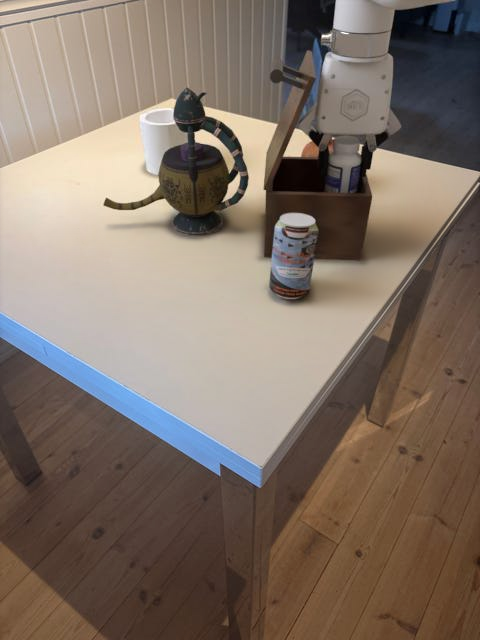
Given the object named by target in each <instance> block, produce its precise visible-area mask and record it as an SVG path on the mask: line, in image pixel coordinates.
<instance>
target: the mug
mask: <svg viewBox="0 0 480 640" xmlns="http://www.w3.org/2000/svg"><path fill="white" fill-rule="evenodd" d="M173 112H174V108H170V107H165V108H156V109H155V108H154V109H151V110H147V111H144V112H143V113H141V114H140V115H139V118H138V120H139V126H140V127H139V128H140V134H141V142H142V148H143V154H144V162H145V168H146V170H147V172H149V173H150V174H152V175H155V176H159V175H158V174H159V168H160V165H161V161H162V158H163V155H164V153H165V152H166V151H167V150H168V149H170V148H172V147H175V146H178V145H182V144H184V143H188V136H187V134H188V133H185V132H182V131H180V130H179V128H178V126H177V125H176V123H175V121H174V120H173Z"/></svg>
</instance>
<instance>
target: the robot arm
mask: <svg viewBox="0 0 480 640" xmlns="http://www.w3.org/2000/svg"><path fill="white" fill-rule="evenodd" d="M456 1H457V0H335V5H334V15H333V25H332V30H330V31H329V32H327V33H321V37H320V46H326V47H328V48H329V50H330V51H328V52H327V53H326V54H325V56H324V60H323V63H322V68H321V71H320V72H321V73H320V78H319V83H318V89H317V96H316V101H315V103H314V104H313V106H311V107H310V108H309V110H308V111H307V112H306V113H305V114H304V115H303V116H302V117H301V118H300V119H299V120H298V128H299V130H301V131H302V132H303V133H304V134H305V136H307V137H308V138H309V139H310V140H311V141H313V142H314V143H315V145H316V146H317V147H318V148H319V154H318V169H321V171H322V176H326V175H327V169H328V160H329V147H328V143H329V141H330V139H331V137H332V138H333V135H335V136H336V135H337V136H338V135H339V136H364V137H365V142H364V144H363V145H362V146H361V150H360V155H361V157H362V163H361V170H360V176H362V177H365V176H366V175H367V171H369V170H371V169H372V168H371V167H372V162H373V157H374V152H375V151H377V148H378V147H380V146H381V145H382V144H383V143H385V142H386V141H387V140H388V139H389V138H390V137H391V136H393V135H394V134H396V133H397V132H399V131H400V130H401V129H402V125H401V122H400V120H399V119H398V118H397V116H396V115H395V113H394V112H393V110H392V108H391V101H392V99H391V98H392V88H393V81H394V80H393V78H394V57H393V56H392V54H391V53H388V52H389V46H390V39H391V34H392V28H393V23H394V17H395V11H403V10H410V9H416V8H421V7H422V8H423V7H426V6H432V5H439V4H446V3H451V2H456ZM314 121H315V127H314V126H313V125H312V123H313V122H314Z"/></svg>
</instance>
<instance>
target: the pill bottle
mask: <svg viewBox="0 0 480 640" xmlns="http://www.w3.org/2000/svg"><path fill="white" fill-rule="evenodd" d="M360 145H361V140H360V139H359V137H356V136H354V135H339V136H338V135H337V136H336V137H334V141H333V150H334V151H332V152H331V153H330V154H329V160H328V169H327V175H326V178H325V189H324V192H330V193H357V190H358V183H359V176H360V170H361V163H362V157H361V153H360V152H359V151H360Z"/></svg>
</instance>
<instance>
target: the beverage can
mask: <svg viewBox="0 0 480 640" xmlns="http://www.w3.org/2000/svg"><path fill="white" fill-rule="evenodd" d="M317 237H318V228H317V226H316V224H315V219H314V218H313V217H311V216H309V215H306V214H302V213H286V214H283V215H281V216H280V220H279V221H278V222H277V223H276V225H275V230H274V240H273V251H272V257H271V261H270V262H271V263H270V271H269V282H268V288H269V290H270V291H271V292H272V293H274V294H275V296H278V297H280V298H282V299H286V300H287V299H288V300H297V299H300V298H302V297H304V296H306V295H307V294H309V292H310V290H311V289H310V288H311V283H312V277H313V269H314V263H315V259H314V257H315V250H316V243H317Z"/></svg>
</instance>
